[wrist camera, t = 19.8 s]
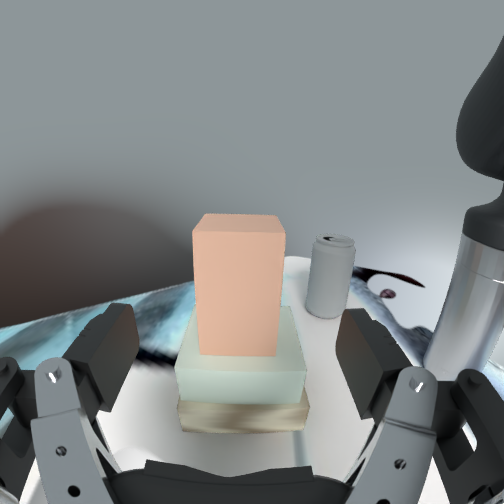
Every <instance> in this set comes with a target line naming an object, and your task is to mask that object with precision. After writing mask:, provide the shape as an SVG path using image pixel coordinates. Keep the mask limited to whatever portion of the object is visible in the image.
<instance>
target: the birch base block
mask: <svg viewBox="0 0 504 504" xmlns="http://www.w3.org/2000/svg"><path fill="white" fill-rule="evenodd" d="M309 408H310V406H309V402H308V398H307V395H306V391H305V388H304V386H303V391H302V395H301V399H300V403H295V404H220V403H205V402H193V401H183V400H181V398H180V395H179V400H178V406H177V410H178V414H179V418H180V422H181V425H182V429H183V431H189V432H204V433H270V432H285V431H297V430H303V429H304V425H305V422H306V419H307V415H308V412H309Z"/></svg>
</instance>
